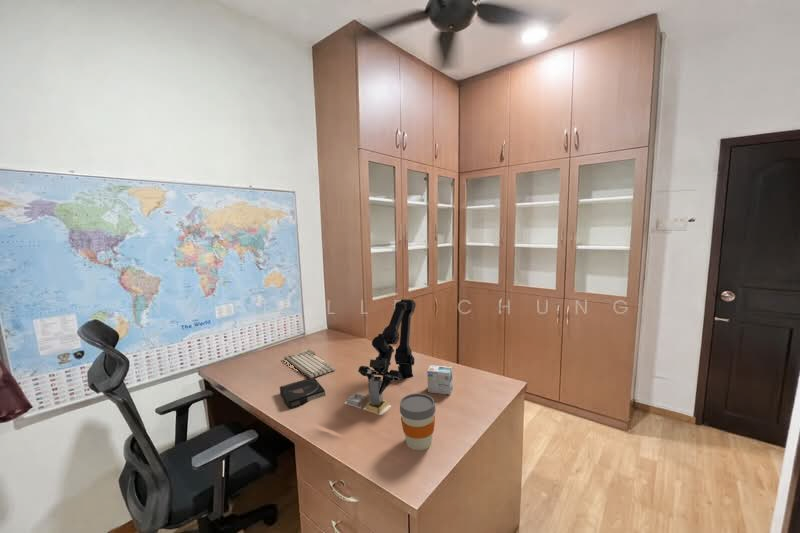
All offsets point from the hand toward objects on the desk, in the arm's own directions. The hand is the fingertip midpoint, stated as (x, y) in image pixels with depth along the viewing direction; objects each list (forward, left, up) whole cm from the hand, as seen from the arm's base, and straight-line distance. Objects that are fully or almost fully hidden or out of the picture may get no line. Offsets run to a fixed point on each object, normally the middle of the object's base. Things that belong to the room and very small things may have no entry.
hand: (374, 393), depth 134 cm
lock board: (+3, -4, -8) cm, 10 cm away
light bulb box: (-31, -9, -8) cm, 34 cm away
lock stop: (-1, -1, -6) cm, 6 cm away
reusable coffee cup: (-12, +23, -8) cm, 28 cm away
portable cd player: (+32, -23, -9) cm, 40 cm away
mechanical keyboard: (+31, -58, -9) cm, 67 cm away
